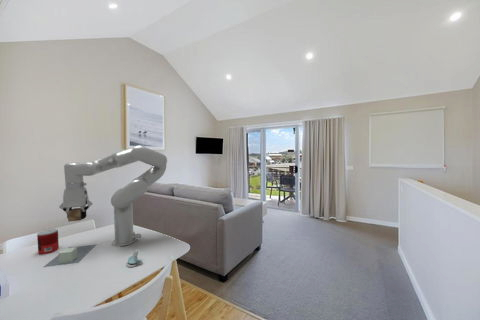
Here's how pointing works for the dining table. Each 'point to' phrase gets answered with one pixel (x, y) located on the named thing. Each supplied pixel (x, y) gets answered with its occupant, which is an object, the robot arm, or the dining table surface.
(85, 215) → the robot arm
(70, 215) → the walnut block
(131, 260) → the pacifier
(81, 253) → the mat
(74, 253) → the sage block
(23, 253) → the dining table surface
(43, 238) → the canned food
